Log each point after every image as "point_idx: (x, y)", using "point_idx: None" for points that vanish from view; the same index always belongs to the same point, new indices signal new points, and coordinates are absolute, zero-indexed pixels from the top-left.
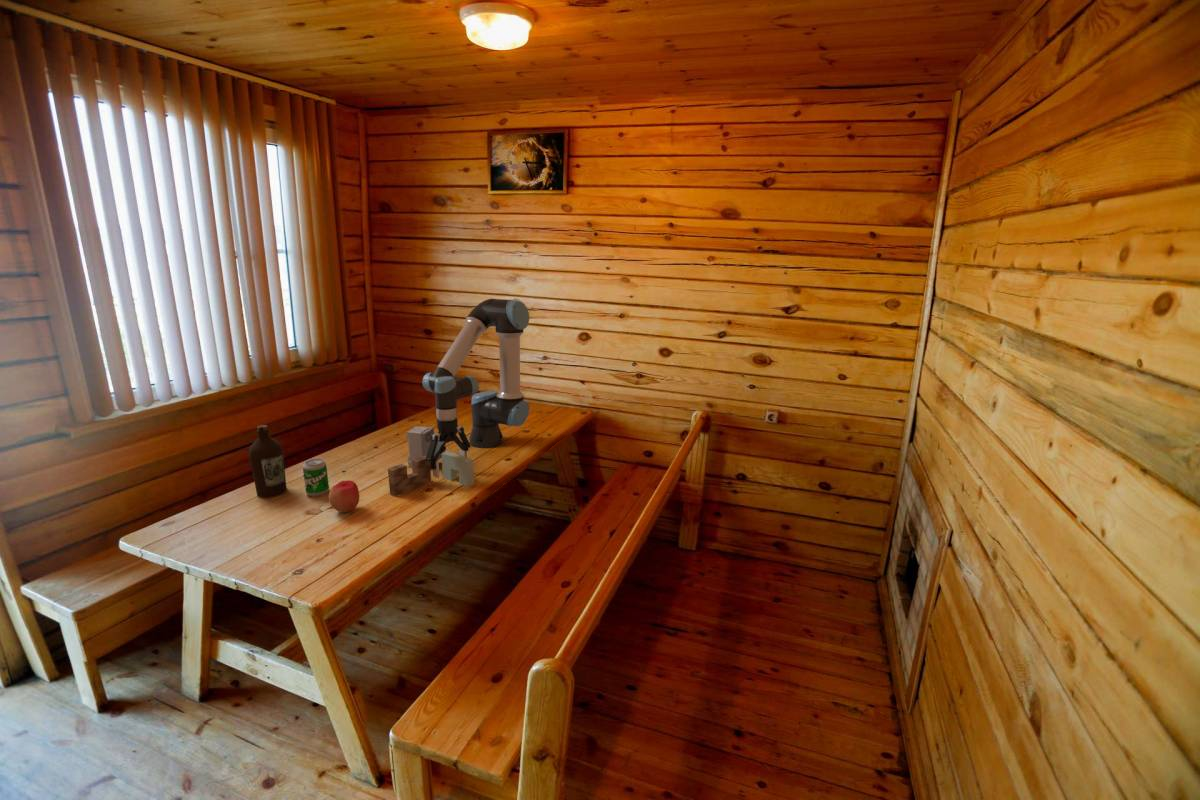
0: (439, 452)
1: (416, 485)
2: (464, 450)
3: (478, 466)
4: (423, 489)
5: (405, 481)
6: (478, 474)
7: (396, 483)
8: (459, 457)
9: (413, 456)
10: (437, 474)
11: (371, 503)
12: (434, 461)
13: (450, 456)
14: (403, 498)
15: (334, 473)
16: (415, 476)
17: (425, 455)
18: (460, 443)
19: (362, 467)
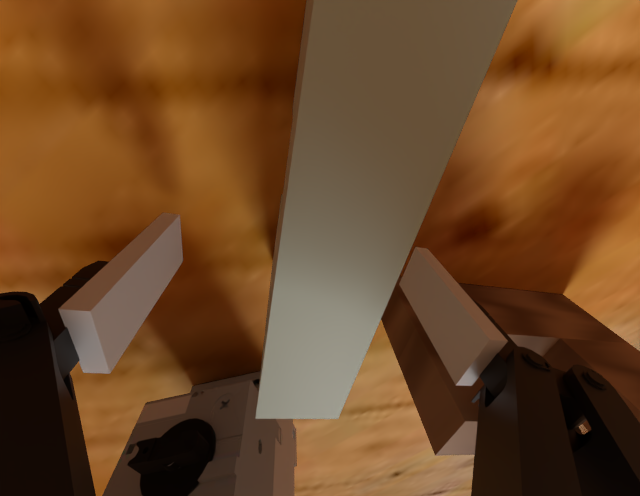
0: (540, 442)
1: (474, 292)
2: (57, 327)
3: (32, 194)
4: (477, 251)
5: (561, 329)
6: (132, 91)
7: (614, 339)
8: (380, 186)
9: (288, 459)
10: (438, 262)
11: (619, 318)
12: (532, 352)
13: (378, 318)
14: (582, 259)
15: (414, 476)
16: (511, 330)
17: (268, 444)
18: (36, 492)
19: (358, 469)
